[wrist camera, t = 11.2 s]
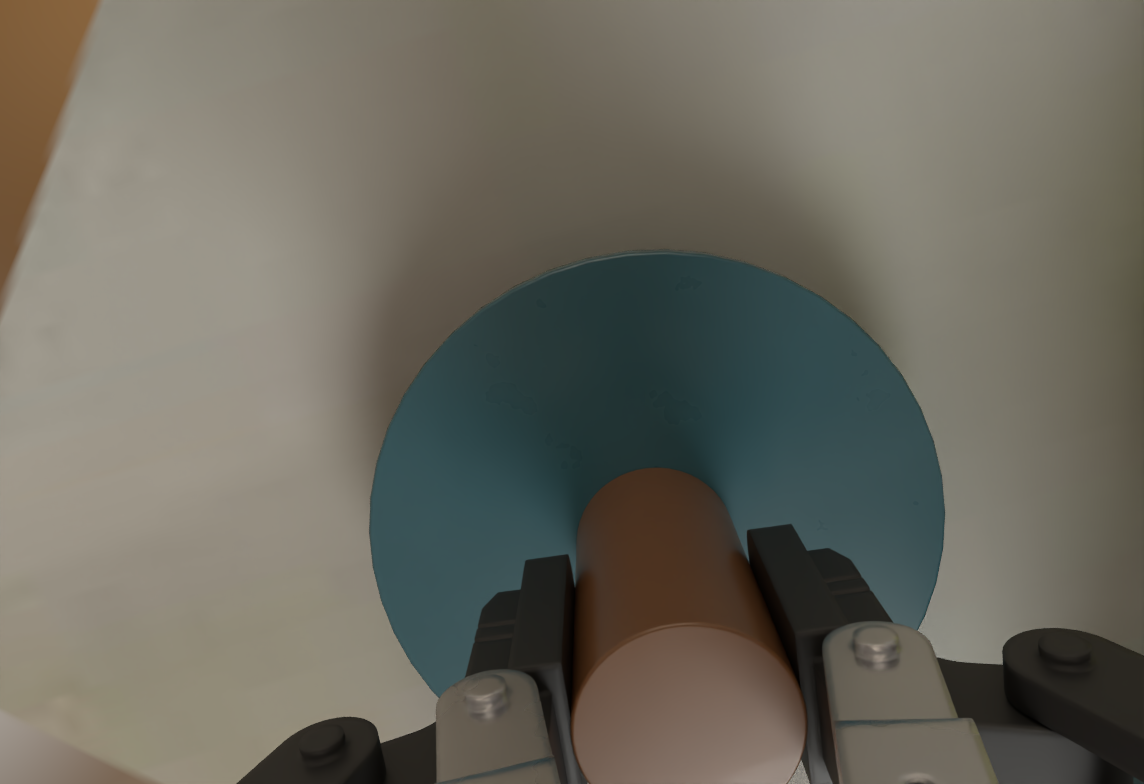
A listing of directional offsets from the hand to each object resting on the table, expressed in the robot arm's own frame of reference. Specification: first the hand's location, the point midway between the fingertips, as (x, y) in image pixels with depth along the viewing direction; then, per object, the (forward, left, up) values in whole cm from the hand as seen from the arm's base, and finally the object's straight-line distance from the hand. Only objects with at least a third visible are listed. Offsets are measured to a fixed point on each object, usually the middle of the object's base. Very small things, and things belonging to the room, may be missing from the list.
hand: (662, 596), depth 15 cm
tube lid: (0, 0, -3) cm, 3 cm away
